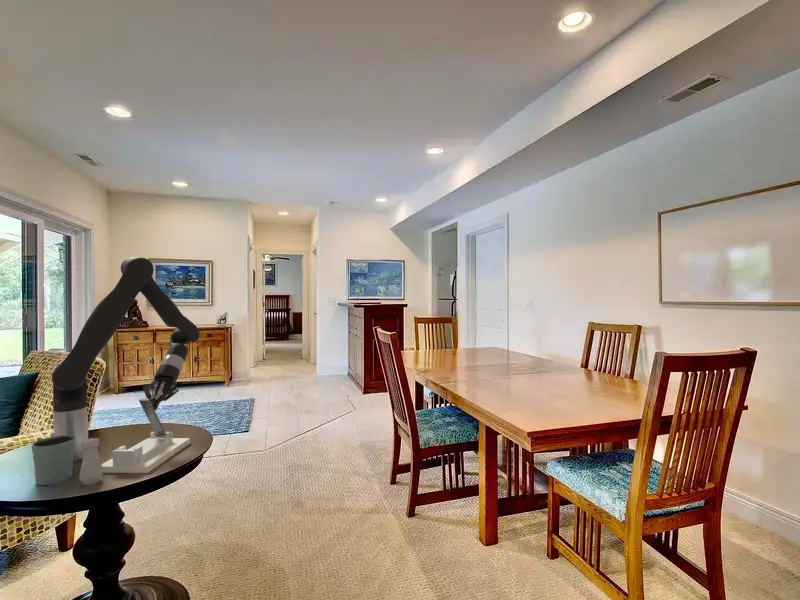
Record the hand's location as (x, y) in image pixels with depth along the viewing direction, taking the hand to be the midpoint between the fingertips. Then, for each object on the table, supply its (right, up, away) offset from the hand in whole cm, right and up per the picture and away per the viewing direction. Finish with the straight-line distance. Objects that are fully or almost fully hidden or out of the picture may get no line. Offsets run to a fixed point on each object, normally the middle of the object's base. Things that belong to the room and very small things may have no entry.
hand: (150, 410), depth 145 cm
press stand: (0, -15, -2) cm, 16 cm away
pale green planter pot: (-18, -16, -19) cm, 31 cm away
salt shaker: (-5, -16, -21) cm, 27 cm away
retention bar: (0, -3, +1) cm, 3 cm away
